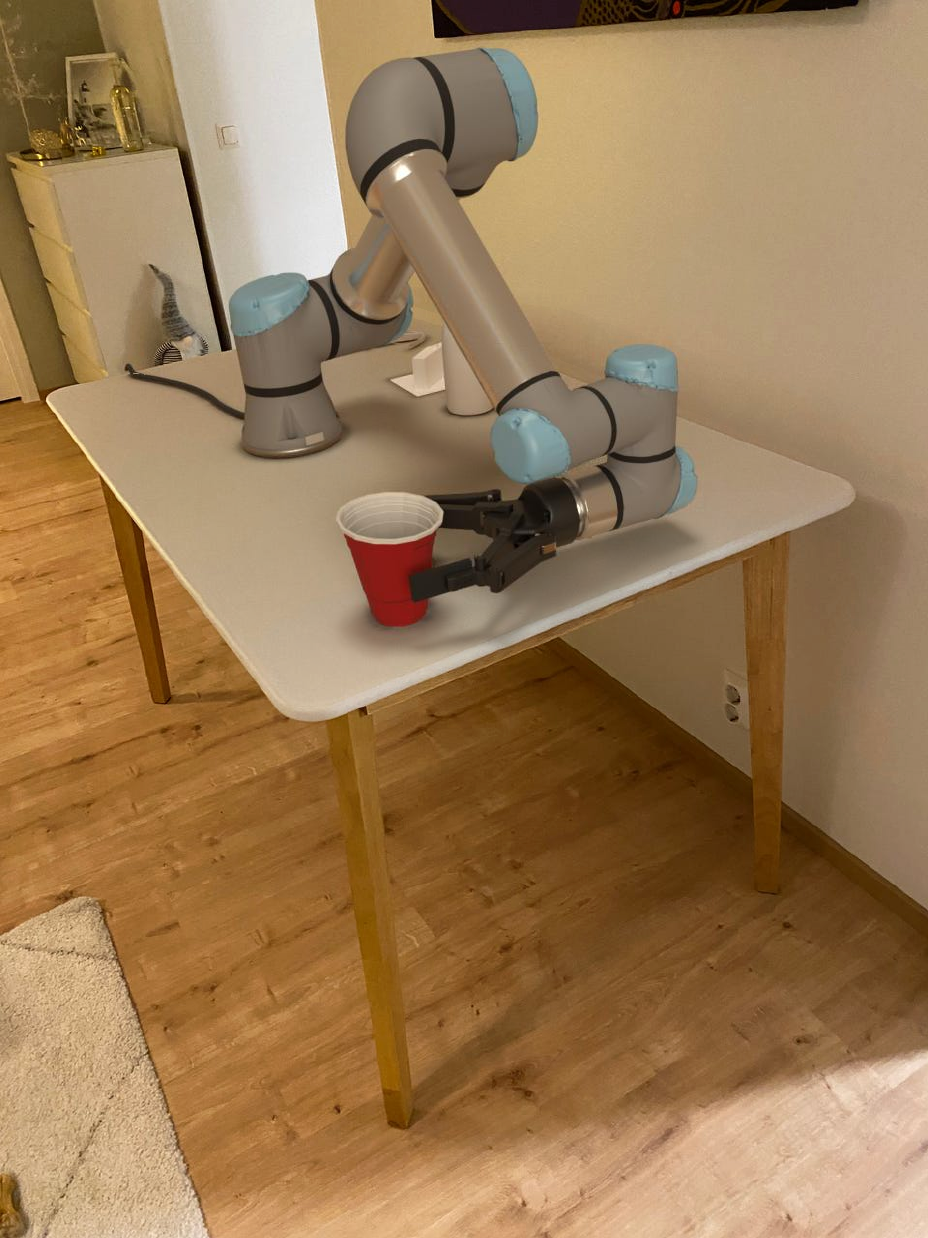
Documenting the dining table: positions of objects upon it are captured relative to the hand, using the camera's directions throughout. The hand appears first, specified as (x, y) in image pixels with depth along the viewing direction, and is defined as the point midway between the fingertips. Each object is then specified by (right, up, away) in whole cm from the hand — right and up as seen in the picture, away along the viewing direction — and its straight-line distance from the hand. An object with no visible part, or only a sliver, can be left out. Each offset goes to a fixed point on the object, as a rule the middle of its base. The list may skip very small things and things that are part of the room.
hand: (385, 560), depth 101 cm
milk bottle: (+9, +27, +55) cm, 62 cm away
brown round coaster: (+2, 0, +12) cm, 12 cm away
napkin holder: (+4, +35, +68) cm, 77 cm away
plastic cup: (+1, -5, +4) cm, 7 cm away
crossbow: (-7, +47, +88) cm, 100 cm away
